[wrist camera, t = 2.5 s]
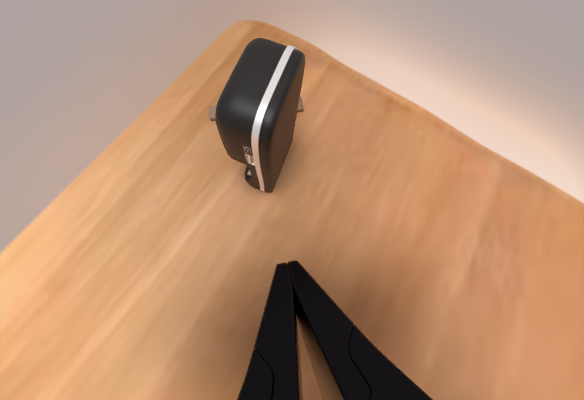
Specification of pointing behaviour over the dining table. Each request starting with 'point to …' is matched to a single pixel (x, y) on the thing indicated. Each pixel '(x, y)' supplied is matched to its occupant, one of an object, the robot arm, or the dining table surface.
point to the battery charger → (261, 109)
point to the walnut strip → (213, 108)
